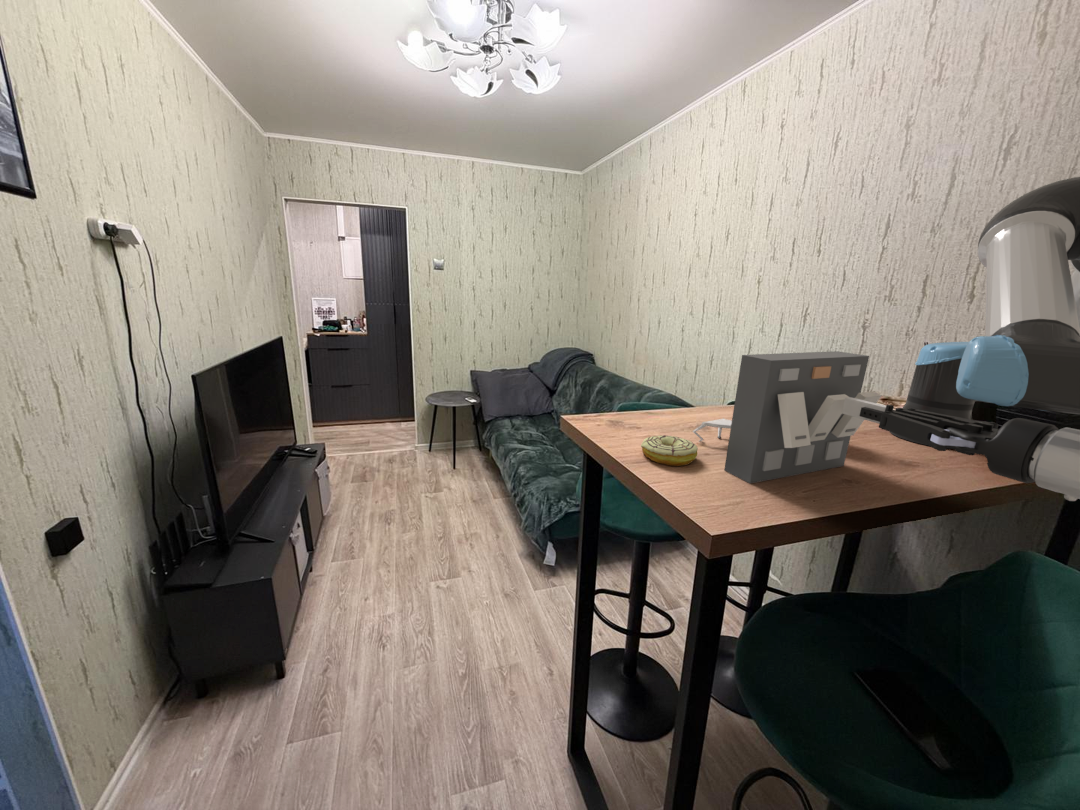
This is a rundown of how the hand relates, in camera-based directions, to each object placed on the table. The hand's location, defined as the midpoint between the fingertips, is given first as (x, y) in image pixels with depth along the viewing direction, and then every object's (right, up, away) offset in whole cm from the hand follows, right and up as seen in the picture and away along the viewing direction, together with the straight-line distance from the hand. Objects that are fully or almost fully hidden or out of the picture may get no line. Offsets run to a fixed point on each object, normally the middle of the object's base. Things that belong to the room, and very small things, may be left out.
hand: (846, 405), depth 72 cm
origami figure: (-11, -9, +25) cm, 29 cm away
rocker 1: (-8, -7, 0) cm, 11 cm away
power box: (-4, -12, +12) cm, 17 cm away
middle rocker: (-2, -6, +6) cm, 9 cm away
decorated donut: (-25, -11, +15) cm, 32 cm away
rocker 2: (+6, -5, +9) cm, 12 cm away
